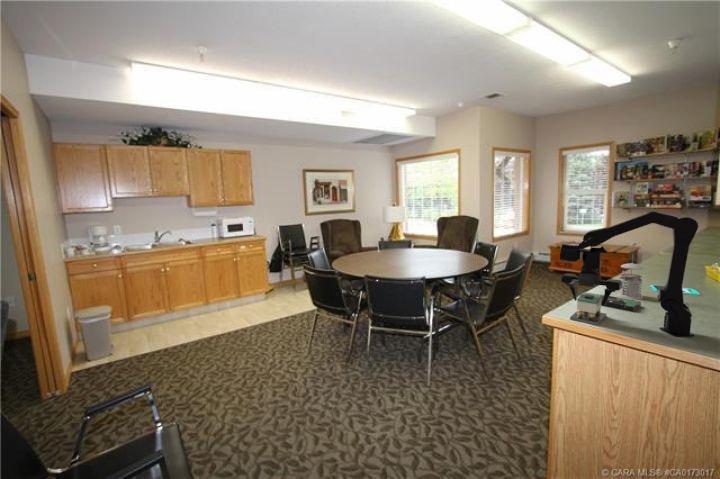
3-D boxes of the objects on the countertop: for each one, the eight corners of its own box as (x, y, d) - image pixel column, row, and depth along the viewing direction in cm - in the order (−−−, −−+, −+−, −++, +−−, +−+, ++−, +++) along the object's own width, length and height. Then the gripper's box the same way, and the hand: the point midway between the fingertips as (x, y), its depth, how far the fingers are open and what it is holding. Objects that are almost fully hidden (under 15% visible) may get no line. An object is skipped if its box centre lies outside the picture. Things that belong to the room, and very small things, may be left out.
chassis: (580, 310, 138) (580, 301, 137) (606, 316, 131) (607, 306, 130) (570, 319, 129) (570, 309, 128) (597, 325, 122) (598, 315, 122)
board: (583, 302, 135) (583, 290, 135) (601, 305, 131) (601, 293, 131) (576, 310, 128) (577, 297, 127) (595, 313, 123) (596, 300, 123)
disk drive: (591, 305, 146) (634, 313, 134) (591, 299, 145) (634, 306, 134) (599, 300, 152) (641, 307, 140) (599, 294, 152) (641, 300, 140)
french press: (648, 297, 152) (653, 242, 148) (632, 300, 147) (636, 245, 144) (624, 291, 161) (628, 240, 157) (609, 295, 157) (612, 242, 153)
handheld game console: (700, 296, 152) (700, 293, 152) (654, 292, 160) (654, 289, 160) (693, 290, 160) (693, 288, 160) (649, 287, 168) (650, 284, 168)
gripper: (557, 263, 129) (555, 302, 131) (617, 270, 115) (614, 314, 117) (566, 259, 136) (564, 296, 138) (624, 265, 122) (621, 306, 124)
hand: (589, 302), depth 129 cm, fingers open, 9 cm apart
